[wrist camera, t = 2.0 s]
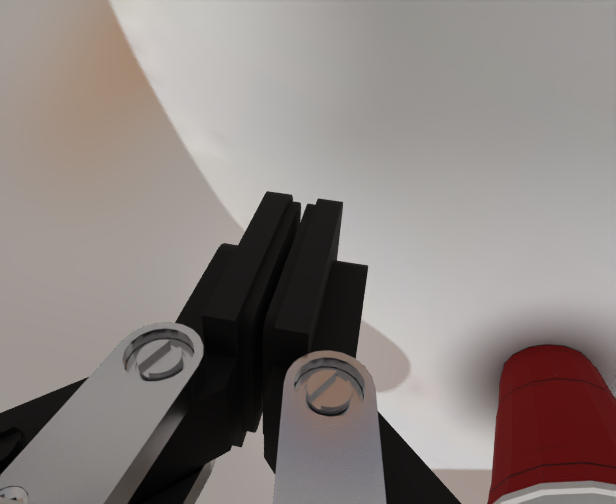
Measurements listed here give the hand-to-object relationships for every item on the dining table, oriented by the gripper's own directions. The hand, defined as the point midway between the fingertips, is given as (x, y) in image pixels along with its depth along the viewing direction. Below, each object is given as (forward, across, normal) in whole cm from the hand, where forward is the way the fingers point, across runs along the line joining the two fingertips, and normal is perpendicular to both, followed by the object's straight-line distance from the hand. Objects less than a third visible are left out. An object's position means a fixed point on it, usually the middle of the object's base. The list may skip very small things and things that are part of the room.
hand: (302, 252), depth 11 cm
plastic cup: (+16, -15, +18) cm, 28 cm away
